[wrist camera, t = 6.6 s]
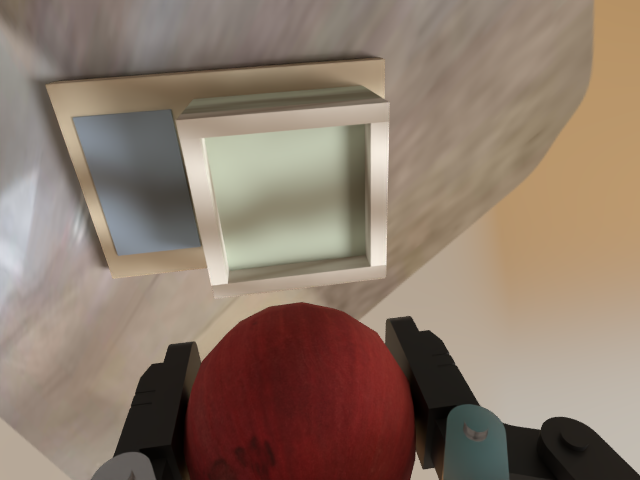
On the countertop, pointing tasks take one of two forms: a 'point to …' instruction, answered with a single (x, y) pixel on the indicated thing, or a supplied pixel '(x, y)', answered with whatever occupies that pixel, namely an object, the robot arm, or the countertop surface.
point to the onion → (300, 402)
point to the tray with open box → (236, 172)
